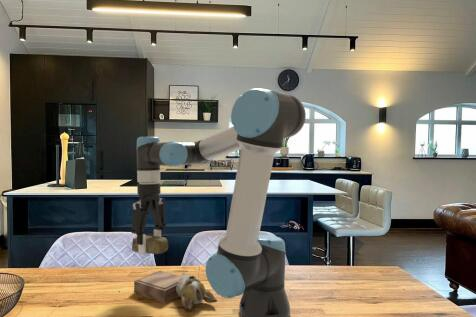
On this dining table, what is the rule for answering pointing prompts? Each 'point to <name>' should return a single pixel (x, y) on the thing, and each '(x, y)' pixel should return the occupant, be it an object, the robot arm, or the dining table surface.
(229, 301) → the dining table surface
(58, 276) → the dining table surface
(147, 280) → the walnut box
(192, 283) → the ceramic sculpture
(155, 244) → the stone block
